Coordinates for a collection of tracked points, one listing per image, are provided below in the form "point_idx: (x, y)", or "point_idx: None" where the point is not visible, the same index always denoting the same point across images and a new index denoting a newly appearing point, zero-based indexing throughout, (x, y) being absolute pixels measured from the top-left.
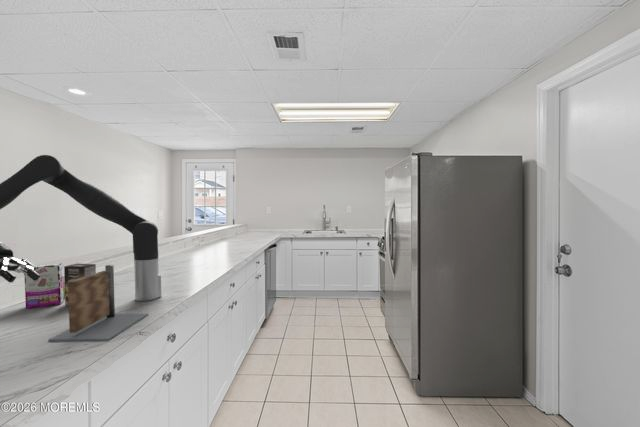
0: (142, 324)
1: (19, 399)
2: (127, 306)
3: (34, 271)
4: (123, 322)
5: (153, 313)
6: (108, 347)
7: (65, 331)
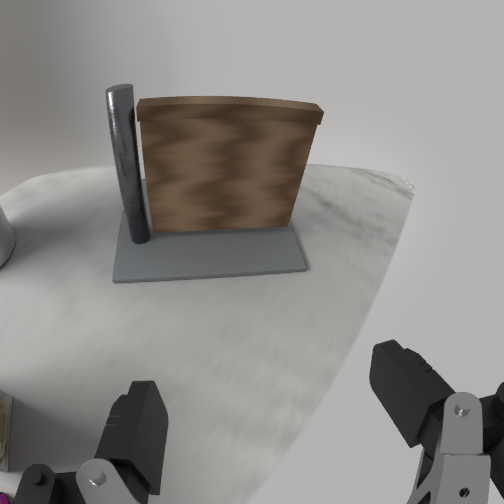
0: None
1: (406, 186)
2: (45, 259)
3: (128, 426)
4: None
5: None
6: None
7: (257, 268)
